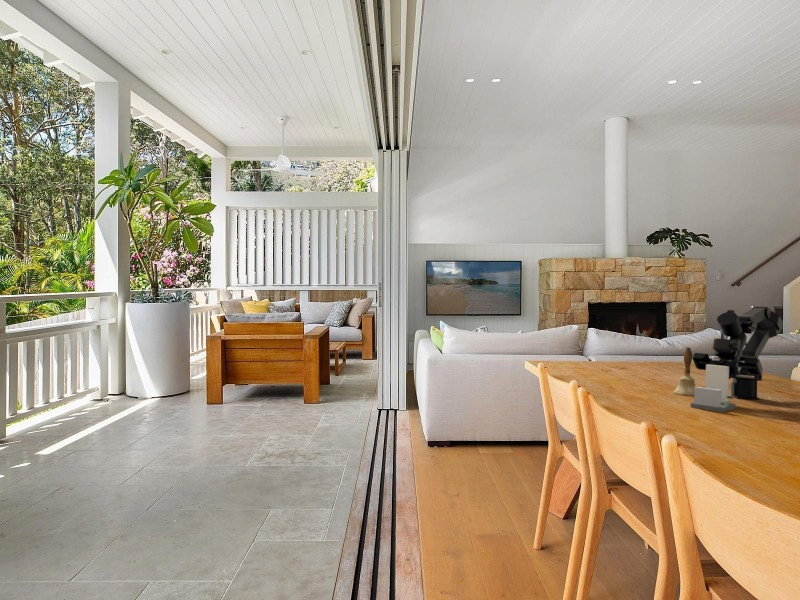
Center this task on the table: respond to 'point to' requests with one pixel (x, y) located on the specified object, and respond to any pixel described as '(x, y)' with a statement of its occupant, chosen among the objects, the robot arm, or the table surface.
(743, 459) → the table surface
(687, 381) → the hand bell
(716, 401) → the gauge base
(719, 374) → the cream block
